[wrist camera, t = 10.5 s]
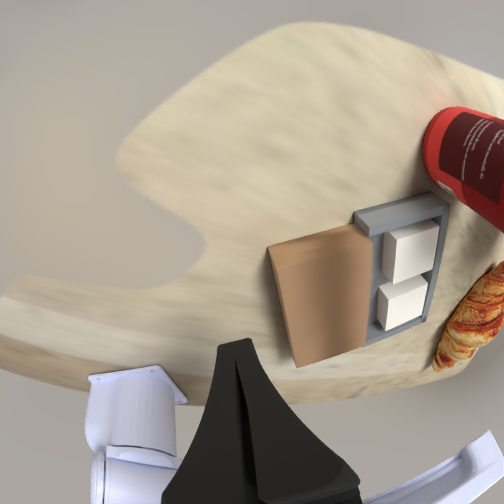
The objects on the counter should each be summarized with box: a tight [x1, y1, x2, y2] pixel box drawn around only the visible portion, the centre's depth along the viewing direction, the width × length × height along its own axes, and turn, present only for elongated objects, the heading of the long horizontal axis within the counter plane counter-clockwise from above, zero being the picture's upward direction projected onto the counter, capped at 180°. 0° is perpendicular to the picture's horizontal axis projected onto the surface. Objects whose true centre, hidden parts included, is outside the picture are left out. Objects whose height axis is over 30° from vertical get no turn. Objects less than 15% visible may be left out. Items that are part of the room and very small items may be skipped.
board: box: [268, 223, 373, 368], centre depth 24 cm, size 7×12×3 cm, turn 12°
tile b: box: [382, 219, 439, 284], centre depth 22 cm, size 4×4×2 cm
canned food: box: [423, 107, 504, 233], centre depth 15 cm, size 8×8×11 cm
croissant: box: [432, 261, 504, 372], centre depth 31 cm, size 21×10×8 cm, turn 172°
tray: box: [354, 192, 450, 347], centre depth 24 cm, size 8×14×2 cm, turn 12°
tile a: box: [377, 274, 428, 331], centre depth 26 cm, size 4×4×2 cm
